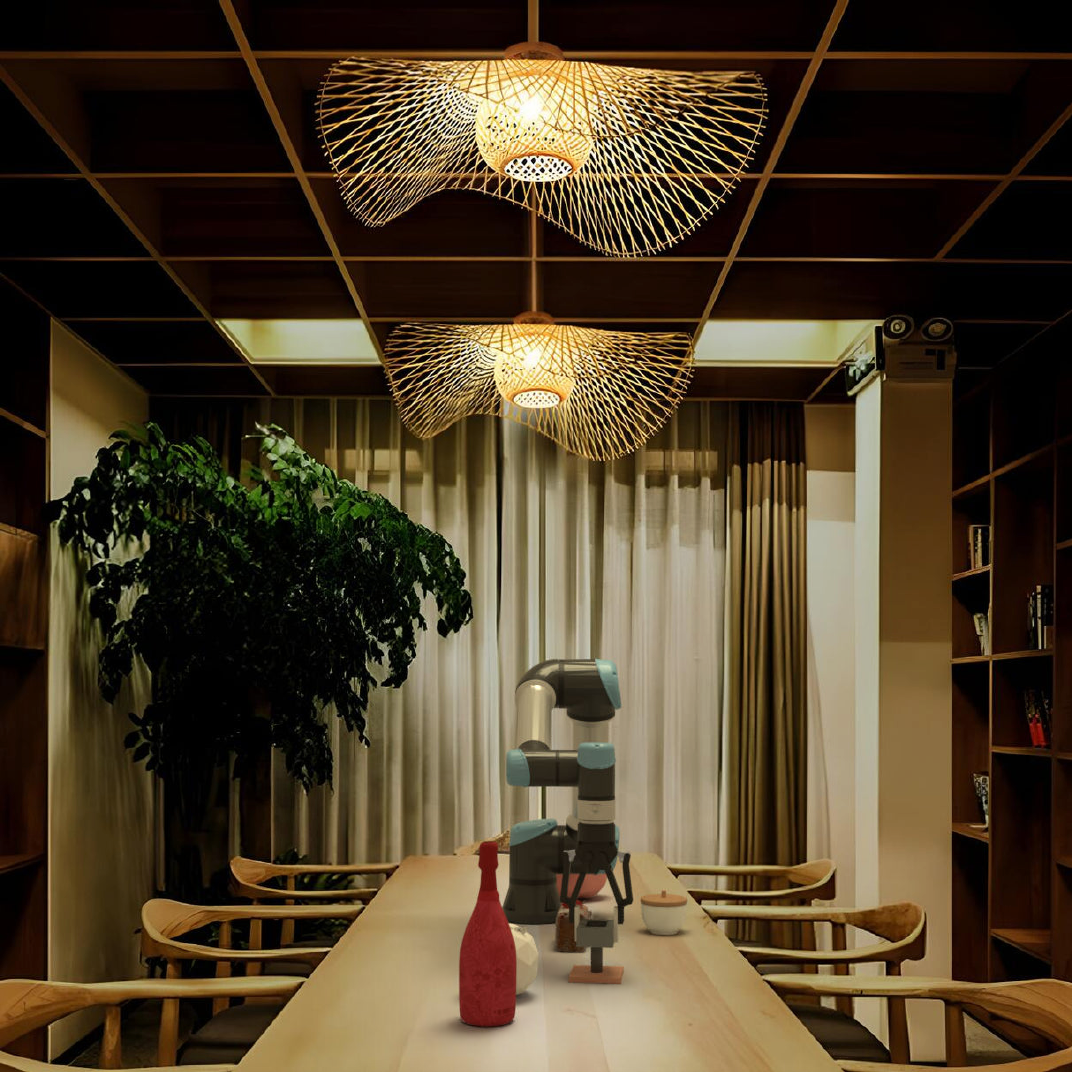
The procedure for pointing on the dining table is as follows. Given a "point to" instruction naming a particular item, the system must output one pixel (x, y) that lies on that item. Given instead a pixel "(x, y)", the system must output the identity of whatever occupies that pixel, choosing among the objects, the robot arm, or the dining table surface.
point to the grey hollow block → (595, 933)
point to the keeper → (596, 970)
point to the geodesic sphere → (524, 958)
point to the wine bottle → (487, 953)
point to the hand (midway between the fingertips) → (596, 940)
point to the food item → (569, 928)
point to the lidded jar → (663, 912)
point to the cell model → (584, 884)
